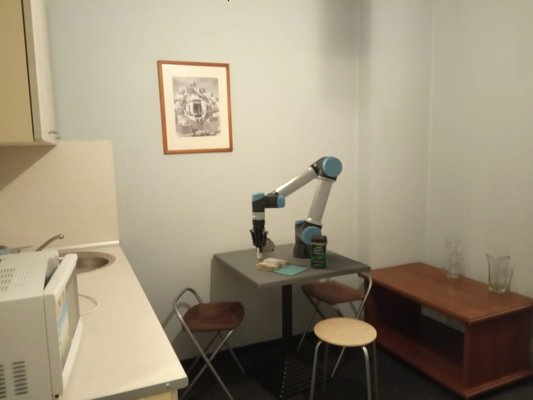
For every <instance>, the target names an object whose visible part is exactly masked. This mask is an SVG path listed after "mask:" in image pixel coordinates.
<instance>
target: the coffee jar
mask: <svg viewBox="0 0 533 400" xmlns="http://www.w3.org/2000/svg"><path fill="white" fill-rule="evenodd" d="M327 236H328V235H312V236H311V242H310V243H311V246H312V254H311V258H310V267H311V268H313V269H326V268H328V253H327V246H328V237H327Z"/></svg>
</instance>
